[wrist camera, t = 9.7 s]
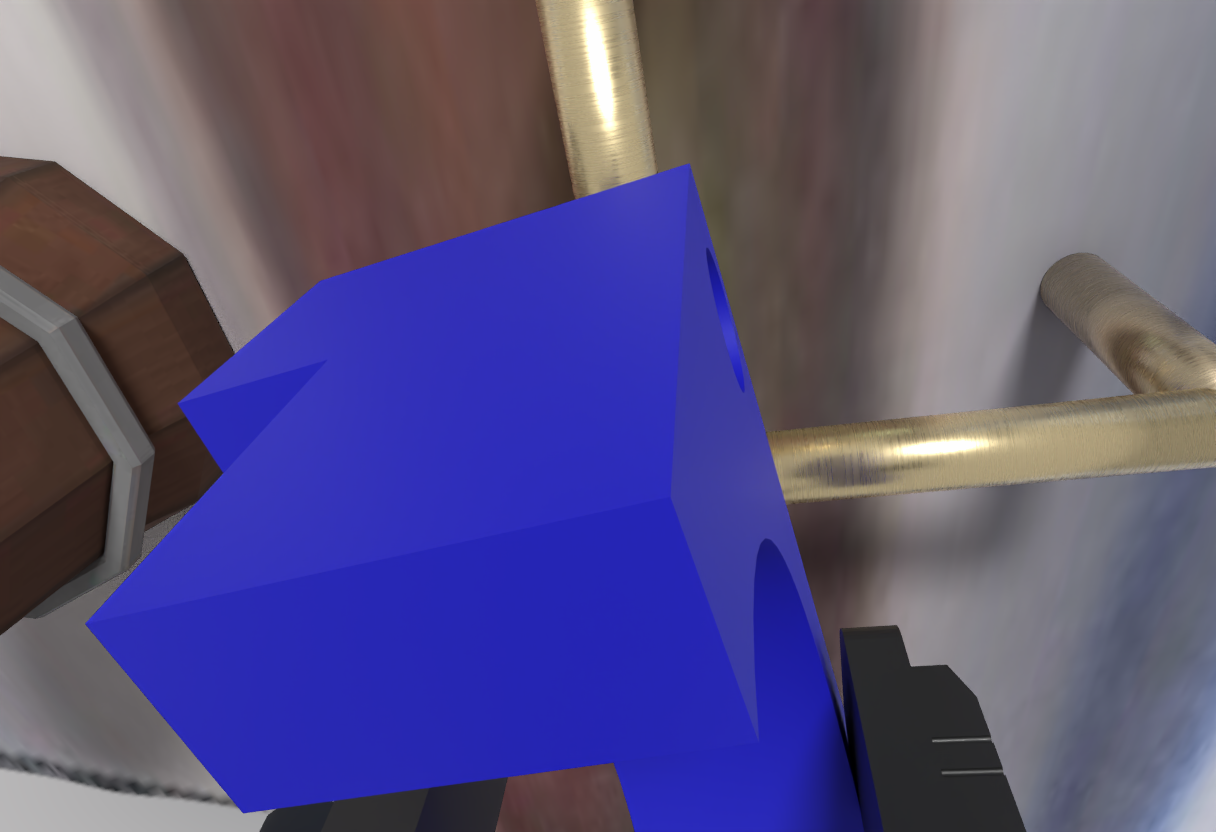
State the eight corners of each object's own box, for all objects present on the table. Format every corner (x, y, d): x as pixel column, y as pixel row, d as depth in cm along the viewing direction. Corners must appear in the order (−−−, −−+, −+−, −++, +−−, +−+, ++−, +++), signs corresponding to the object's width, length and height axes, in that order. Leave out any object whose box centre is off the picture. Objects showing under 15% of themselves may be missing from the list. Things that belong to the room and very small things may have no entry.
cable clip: (320, 280, 10) (-136, 671, 4) (689, 162, 8) (669, 497, 3) (632, 878, 15) (596, 1375, 10) (884, 853, 14) (996, 1398, 9)
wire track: (1176, -273, 15) (1559, -457, 8) (1106, 309, 20) (1303, 480, 14) (566, -132, 17) (481, -191, 10) (651, 364, 22) (630, 536, 16)
